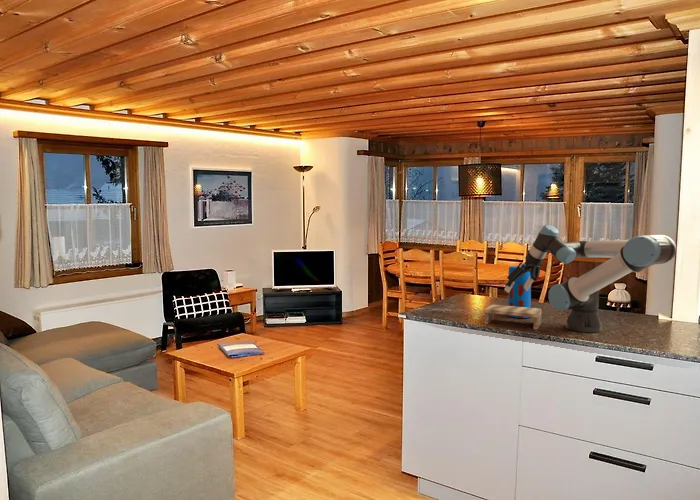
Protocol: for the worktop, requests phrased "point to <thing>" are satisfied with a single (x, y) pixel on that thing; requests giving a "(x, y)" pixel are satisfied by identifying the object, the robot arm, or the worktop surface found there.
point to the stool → (513, 313)
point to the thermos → (519, 292)
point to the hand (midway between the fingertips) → (516, 290)
